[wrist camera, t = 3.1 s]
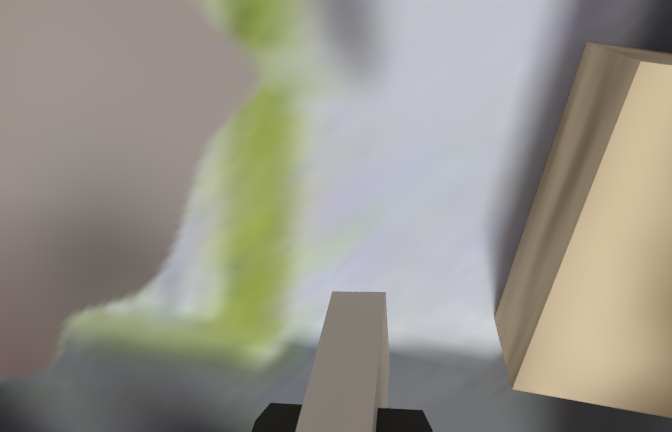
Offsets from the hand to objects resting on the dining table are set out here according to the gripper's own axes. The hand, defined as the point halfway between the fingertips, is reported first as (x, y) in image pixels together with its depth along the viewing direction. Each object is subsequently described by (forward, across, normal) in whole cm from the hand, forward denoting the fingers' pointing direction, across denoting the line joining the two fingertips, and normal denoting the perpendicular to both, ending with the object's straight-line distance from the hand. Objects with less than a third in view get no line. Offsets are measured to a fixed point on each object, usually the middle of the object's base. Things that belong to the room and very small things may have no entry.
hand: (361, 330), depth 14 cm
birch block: (+8, -11, 0) cm, 13 cm away
